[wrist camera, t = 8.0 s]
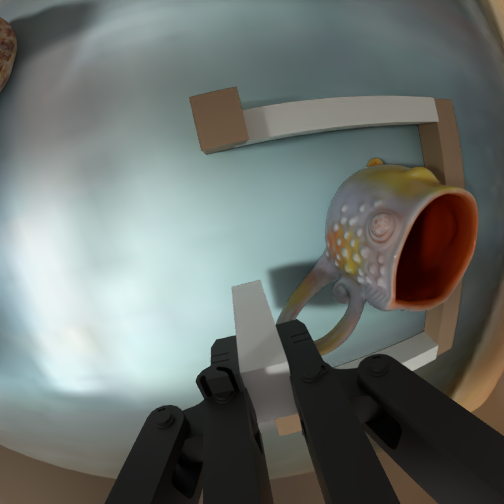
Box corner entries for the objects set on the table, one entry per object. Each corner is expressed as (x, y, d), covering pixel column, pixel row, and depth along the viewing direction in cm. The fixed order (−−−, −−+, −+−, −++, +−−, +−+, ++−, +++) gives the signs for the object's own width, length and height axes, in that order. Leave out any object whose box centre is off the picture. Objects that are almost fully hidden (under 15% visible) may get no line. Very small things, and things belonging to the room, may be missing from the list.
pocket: (272, 405, 19) (279, 436, 16) (196, 112, 13) (189, 97, 10) (437, 344, 20) (456, 363, 17) (429, 91, 13) (460, 84, 10)
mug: (381, 141, 14) (459, 136, 8) (427, 227, 16) (497, 256, 10) (226, 267, 16) (229, 333, 9) (294, 340, 18) (325, 413, 11)
